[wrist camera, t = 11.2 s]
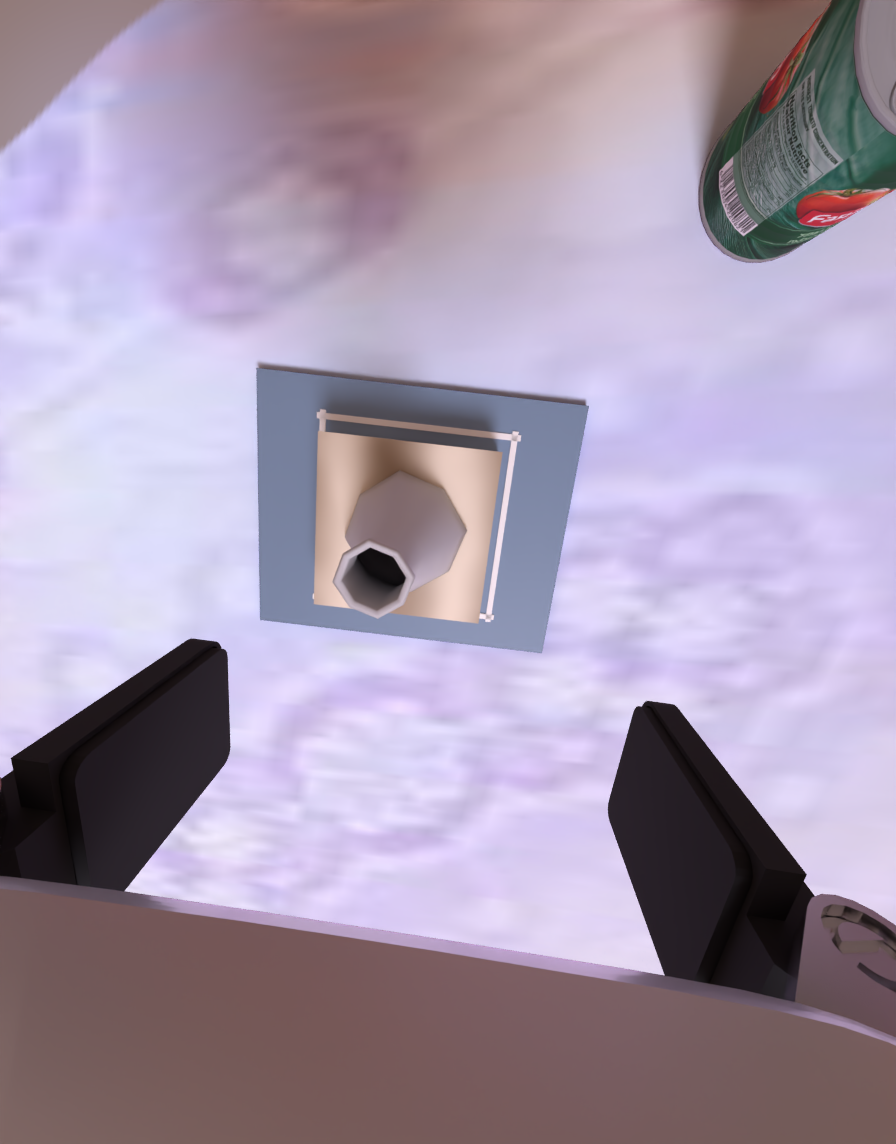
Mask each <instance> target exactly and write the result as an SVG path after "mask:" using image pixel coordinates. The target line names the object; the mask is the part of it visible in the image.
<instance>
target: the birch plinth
mask: <svg viewBox="0 0 896 1144" xmlns="http://www.w3.org/2000/svg"><path fill="white" fill-rule="evenodd" d="M502 453H503V452H498V451H489V450H481V449H472V448H463V447H455V446H446V445H437V444H429V443H420V442H411V441H402V440H394V439H385V438H376V437H368V436H359V435H350V434H342V433H333V432H323V431H318V449H317V492H316V534H315V576H314V604H317V605H325V606H334V607H342V608H350V607H349V606H348V605H347V603H346V602H345V600H344V599H343V597H342V596H341V594H340V593H339V591H338V590H337V588H336V587H335V585H334V584H333V582H332V581H333V579H334V576H335V573H336V570H337V568H338V565H339V562H340V559H341V557H342V554H343V553H344V552H346V551H348V550H349V549H351V548H350V546H349V544H348V543H347V541H346V539H345V534H346V532H347V529H348V526H349V523H350V521H351V518H352V515H353V512H354V510H355V507H356V504H357V501H358V499H359V496H360V494H362V493H363V492H365V491H366V490H368V489H370V488H371V487H373V486H375V485H376V484H378V483H380V482H381V481H383V480H385V479H386V478H388V477H390V476H391V475H393V474H395V473H396V472H398V471H399V470H400V471H403V472H405V473H407V474H409V475H412V476H414V477H416V478H419V479H421V480H423V481H425V482H428V483H430V484H432V485H435V486H437V487H439V488H442V489H444V490H445V492H446V494H447V496H448V497H449V499H450V501H451V503H452V504H453V506H454V508H455V510H456V511H457V513H458V515H459V517H460V518H461V520H462V522H463V524H464V525H465V527H466V529H467V532H466V534H465V537H464V539H463V541H462V543H461V546H460V548H459V550H458V552H457V555H456V557H455V559H454V561H453V564H452V566H451V568H450V570H449V572H447V573H445V574H443V575H441V576H439V577H438V578H436V579H434V580H432V581H430V582H428V583H427V584H425V585H423V586H421V587H419V588H417V589H416V590H414V591H412V592H409V594H408V596H407V598H406V601H405V603H404V605H402V606H401V607H399V608H397V609H395V610H393V611H391V612H389V613H393V614H401V615H410V616H418V617H427V618H435V619H444V620H452V621H461V622H469V623H477V624H478V623H479V616H480V609H481V602H482V595H483V588H484V581H485V574H486V567H487V560H488V553H489V545H490V538H491V531H492V524H493V517H494V510H495V503H496V496H497V489H498V482H499V475H500V468H501V460H502ZM351 609H352V608H351Z"/></svg>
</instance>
